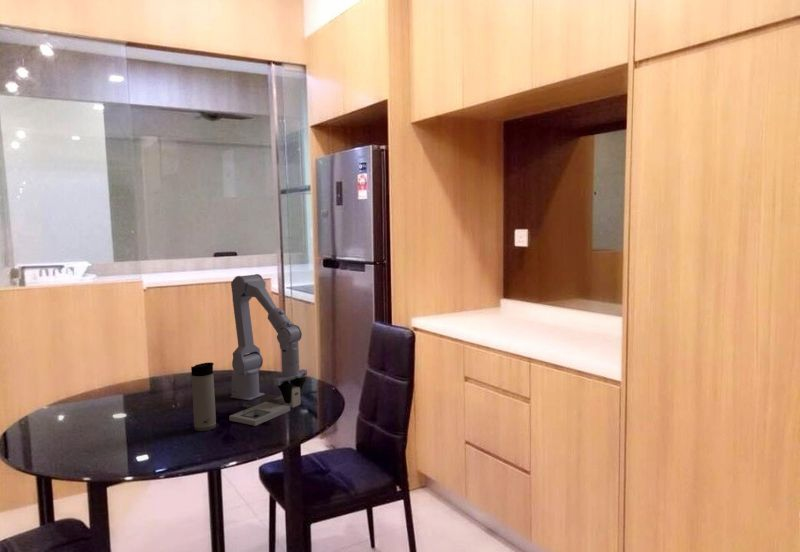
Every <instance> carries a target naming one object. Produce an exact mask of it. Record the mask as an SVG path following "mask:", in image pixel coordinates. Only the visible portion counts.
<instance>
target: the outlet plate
mask: <svg viewBox="0 0 800 552" xmlns="http://www.w3.org/2000/svg"><path fill="white" fill-rule="evenodd" d="M289 412H291V407H290V406H286V405H284V404H274V403H273V402H272V403H269V402H264V403H261V404H259V405H256V406H253V407H251V408H246V409H243V410H240V411H238V412H235V413H234V414H231V415H229V416H228V417H229V419H228V421H230V422H236V423H240V424H244V425H251V426H255V427H256V426H258V425H260V424H263V423H265V422H268V421H270V420H272V419H274V418H277V417H279V416H282V415H283V414H285V413H289Z"/></svg>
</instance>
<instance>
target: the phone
mask: <svg viewBox="0 0 800 552" xmlns="http://www.w3.org/2000/svg"><path fill="white" fill-rule="evenodd" d="M277 397H279V396H277V395H272V394H266V395H262V396H260V397H257V398H254V399H252V400H249V401H248V402H244V403H243V404H242V408H245V407H246V409H248V408H251V407H253V406H256V405H259V404H261V403H264V402H269V403H273V399H274V398H277Z"/></svg>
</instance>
